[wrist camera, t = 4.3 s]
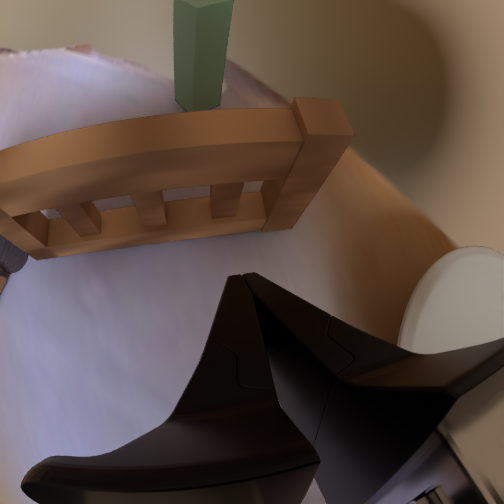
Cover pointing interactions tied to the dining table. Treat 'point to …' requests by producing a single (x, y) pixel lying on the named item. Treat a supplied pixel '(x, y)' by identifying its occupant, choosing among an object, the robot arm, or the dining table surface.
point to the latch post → (200, 51)
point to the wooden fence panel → (10, 258)
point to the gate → (169, 176)
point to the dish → (456, 303)
